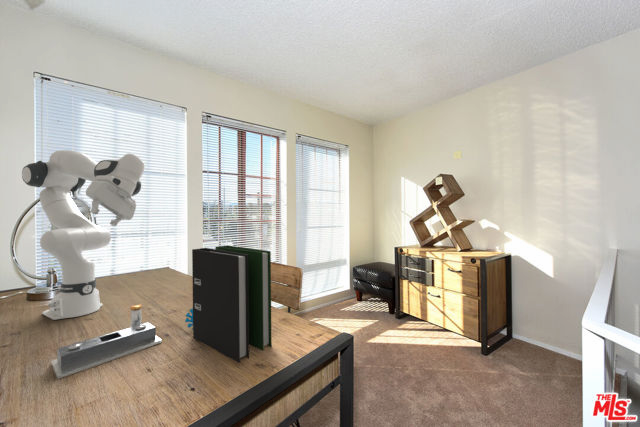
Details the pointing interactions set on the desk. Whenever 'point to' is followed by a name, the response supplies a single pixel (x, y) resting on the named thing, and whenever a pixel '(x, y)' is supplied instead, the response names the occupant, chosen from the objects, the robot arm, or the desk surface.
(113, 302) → the desk surface
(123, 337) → the grey slotted bar
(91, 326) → the desk surface
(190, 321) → the gear
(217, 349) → the binders
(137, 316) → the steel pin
